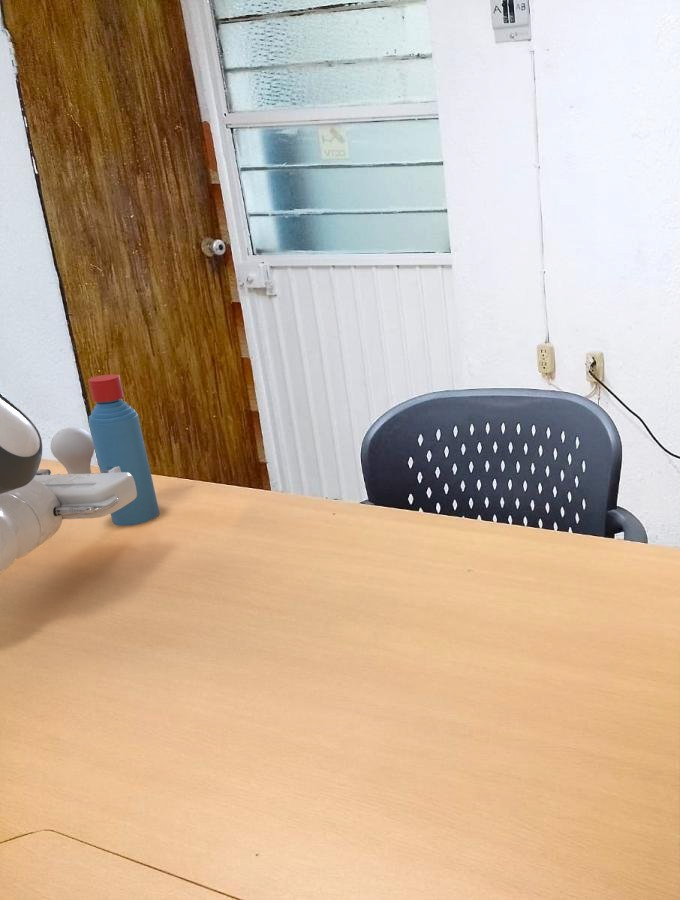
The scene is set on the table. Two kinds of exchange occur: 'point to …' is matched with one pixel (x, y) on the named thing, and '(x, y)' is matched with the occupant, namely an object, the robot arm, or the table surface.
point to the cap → (106, 388)
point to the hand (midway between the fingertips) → (81, 473)
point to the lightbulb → (73, 450)
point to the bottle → (124, 457)
